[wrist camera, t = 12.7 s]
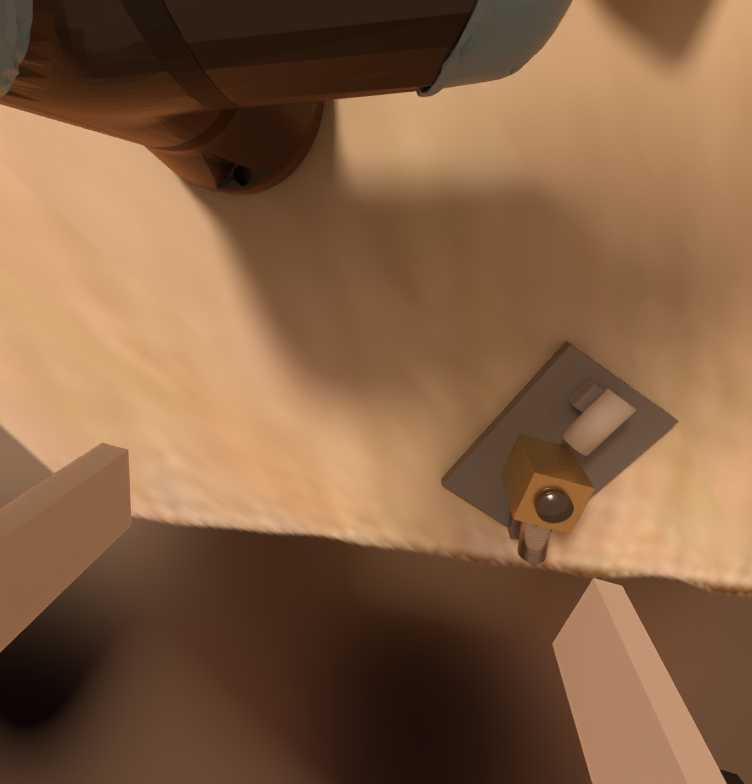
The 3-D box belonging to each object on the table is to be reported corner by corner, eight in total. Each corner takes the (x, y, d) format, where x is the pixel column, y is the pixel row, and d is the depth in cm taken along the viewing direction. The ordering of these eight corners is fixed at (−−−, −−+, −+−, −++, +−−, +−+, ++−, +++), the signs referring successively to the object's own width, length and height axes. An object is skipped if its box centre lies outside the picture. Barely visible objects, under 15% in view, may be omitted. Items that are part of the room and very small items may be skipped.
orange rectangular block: (518, 433, 37) (536, 476, 30) (569, 446, 36) (598, 493, 30) (500, 475, 38) (514, 524, 32) (549, 487, 38) (572, 539, 32)
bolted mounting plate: (566, 341, 34) (588, 359, 29) (671, 415, 35) (709, 445, 30) (441, 478, 41) (442, 512, 36) (532, 536, 42) (545, 576, 37)
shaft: (511, 490, 39) (520, 517, 35) (550, 491, 38) (562, 520, 35) (507, 531, 41) (514, 561, 37) (543, 533, 40) (554, 564, 37)
